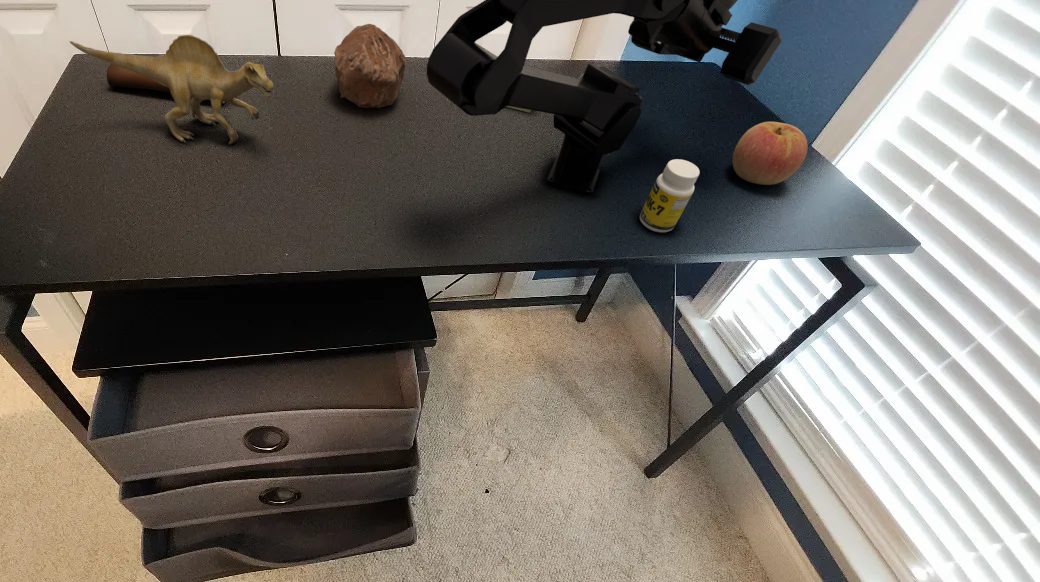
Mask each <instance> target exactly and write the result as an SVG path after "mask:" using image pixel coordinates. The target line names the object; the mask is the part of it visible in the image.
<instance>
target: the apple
mask: <svg viewBox="0 0 1040 582" xmlns="http://www.w3.org/2000/svg"><path fill="white" fill-rule="evenodd" d="M808 149H809V148H808V140H807V137H806V136H805V133H803V131H802V130H801V129H800V128H798V127H797V126H794V125H792V124H789V123H784V122H778V121H764V122H760V123H757V124H756V125H753V126H752V127H750V128H749V129H747V131H746V132H744V133H743V135H742V136H741V137H740V139H739V140H738V142H737V144H736V146H735V148H734V150H733V154H732V167H733V170H734V172H735V174H736V175H737V176H738V177H739V178H741V179H743V180H744V181H747V183H752V184H755V185H762V186H763V185H764V186H771V185H777V184H779V183H782V182H784V181H786V180H788V179H789V178H790V177H792V176H793V175H794V174H795V173H797V171H798V170H799V169H800V168H801V166H802V165H803V163H804V161H805V160H806V157H807V154H808Z"/></svg>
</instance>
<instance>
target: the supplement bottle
mask: <svg viewBox="0 0 1040 582" xmlns="http://www.w3.org/2000/svg"><path fill="white" fill-rule="evenodd" d="M699 176H700V169H699V167H698V166H697V165H696V164H694V163H693V162H690V161H689V160H685V159H681V158H680V159H679V158H675V159H671V160H669V161H668V163H667V164H666V166H665V168H664V169H663V172H662V173H660V174H659V175H658V176H657V178H656V180H655V182H654V183H653V186H652V188H651V190H650V192H649V194H648V196H647V198H646V201H645V203H644V205H643V207H642V209H641V211H640V213H639V220H640V222H641V224H642V225H643V226H644V227H645V228H647V229H648V230H650V231H653V232H656V233H667V232H671V231H673V230H674V228H675V227H676V225H677V223H678V221H679V219H680V217H681V216H682V214H683V212H684V211H685V208H686V206H687V205H688V203H689V201H690V200H691V197H692V196H693V194H694V192H695V183H696V182H697V180H698V178H699Z"/></svg>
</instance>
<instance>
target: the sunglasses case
mask: <svg viewBox="0 0 1040 582" xmlns="http://www.w3.org/2000/svg"><path fill="white" fill-rule="evenodd" d="M106 81H107V85H108V86H109V87H110V88H114V87H117V88H118V87H120V88H131V89H140V90H142V89H144V90H146V89H147V90H149V89H150V90H152V91H159V92H163V93H170V94H171V91H170V88H169V87H166V86H163V85H162V84H160V83H158V82H156V81H154V80H152V79H150V78H148V77H146V76H143V75H140V74H138V73H135V72H133V71H131V70H127V69H124V68H122V67H119V66H116V65H114V64H111V63H109V65H108V66H107V68H106ZM225 103H226V102H223V101H222V102H221V104H225Z"/></svg>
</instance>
